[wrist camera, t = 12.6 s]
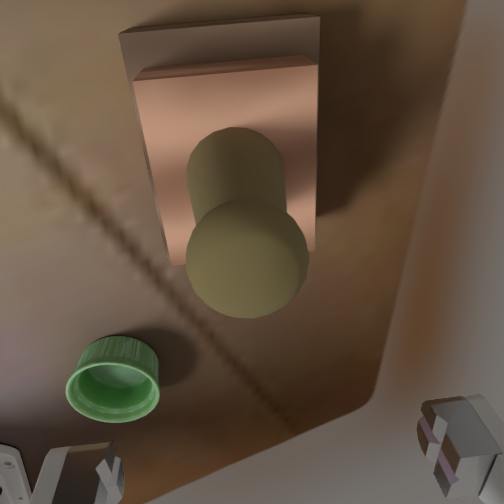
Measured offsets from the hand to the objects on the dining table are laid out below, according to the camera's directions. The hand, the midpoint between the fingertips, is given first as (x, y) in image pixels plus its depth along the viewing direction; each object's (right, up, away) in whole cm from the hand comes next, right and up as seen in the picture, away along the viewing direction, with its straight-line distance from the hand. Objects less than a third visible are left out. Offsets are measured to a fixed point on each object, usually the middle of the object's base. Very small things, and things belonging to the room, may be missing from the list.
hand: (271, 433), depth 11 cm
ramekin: (-15, -7, +33) cm, 37 cm away
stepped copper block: (-2, +14, +21) cm, 25 cm away
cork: (-2, +10, +15) cm, 18 cm away
